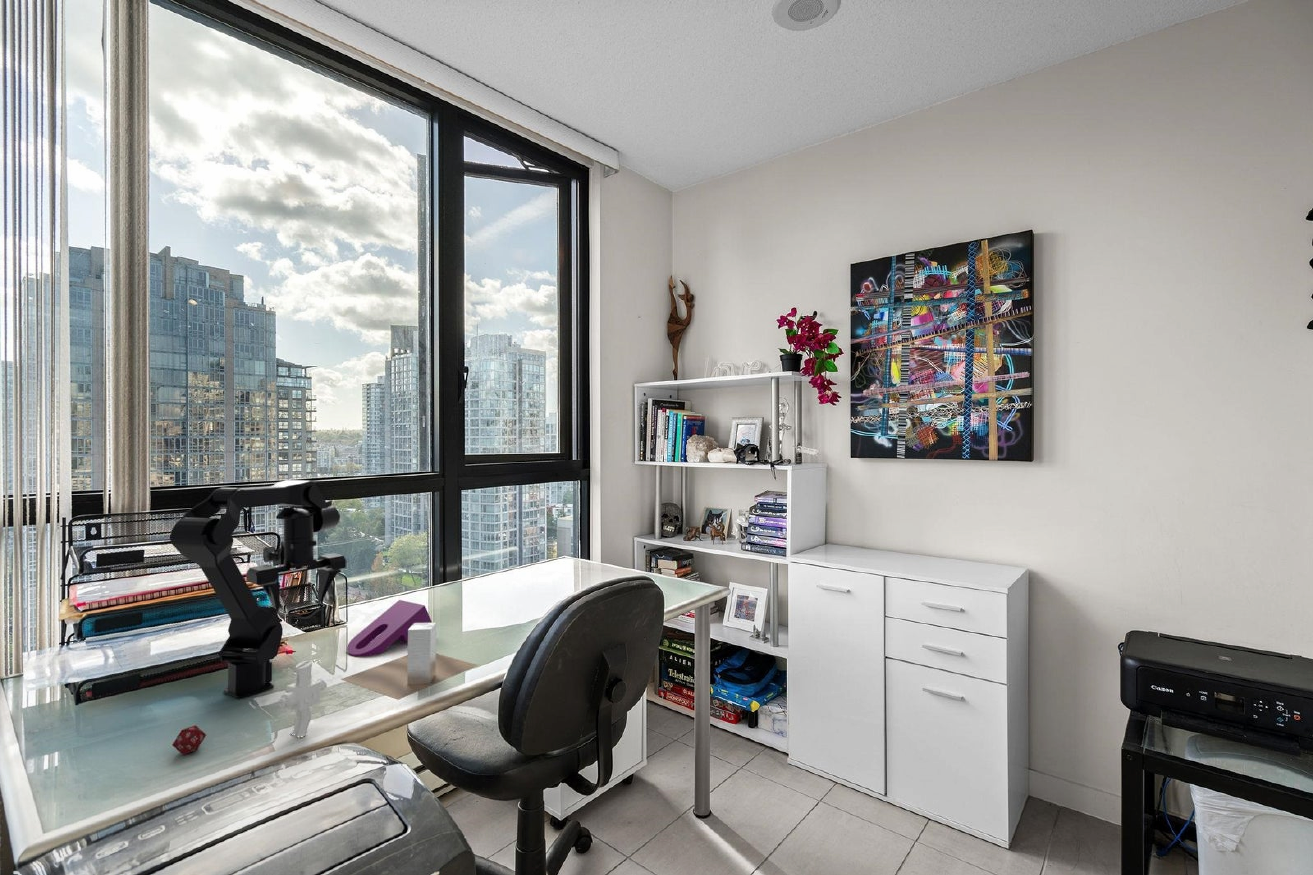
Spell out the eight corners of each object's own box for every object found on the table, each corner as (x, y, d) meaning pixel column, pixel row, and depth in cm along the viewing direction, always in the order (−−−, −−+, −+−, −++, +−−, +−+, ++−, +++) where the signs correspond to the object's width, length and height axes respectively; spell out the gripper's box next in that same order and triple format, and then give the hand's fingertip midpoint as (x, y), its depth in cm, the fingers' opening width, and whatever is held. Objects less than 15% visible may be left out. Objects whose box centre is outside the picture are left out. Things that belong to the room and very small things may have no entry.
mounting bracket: (378, 686, 136) (436, 632, 150) (364, 658, 133) (424, 605, 147) (352, 677, 140) (411, 625, 155) (338, 650, 137) (399, 599, 151)
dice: (209, 751, 96) (209, 726, 96) (174, 762, 93) (174, 736, 93) (203, 743, 99) (203, 718, 99) (169, 753, 95) (169, 728, 95)
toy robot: (331, 725, 105) (332, 657, 105) (288, 745, 98) (289, 672, 98) (316, 720, 107) (317, 653, 107) (273, 740, 100) (274, 668, 100)
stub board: (397, 705, 113) (398, 682, 113) (340, 684, 122) (341, 663, 122) (477, 670, 130) (477, 650, 130) (422, 654, 139) (422, 635, 139)
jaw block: (407, 684, 120) (408, 629, 120) (413, 675, 124) (414, 623, 124) (429, 683, 120) (430, 629, 120) (435, 674, 125) (436, 622, 125)
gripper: (323, 526, 144) (324, 590, 145) (235, 538, 129) (235, 610, 130) (347, 532, 138) (348, 598, 139) (257, 545, 123) (258, 620, 123)
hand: (299, 606), depth 133 cm, fingers open, 9 cm apart
